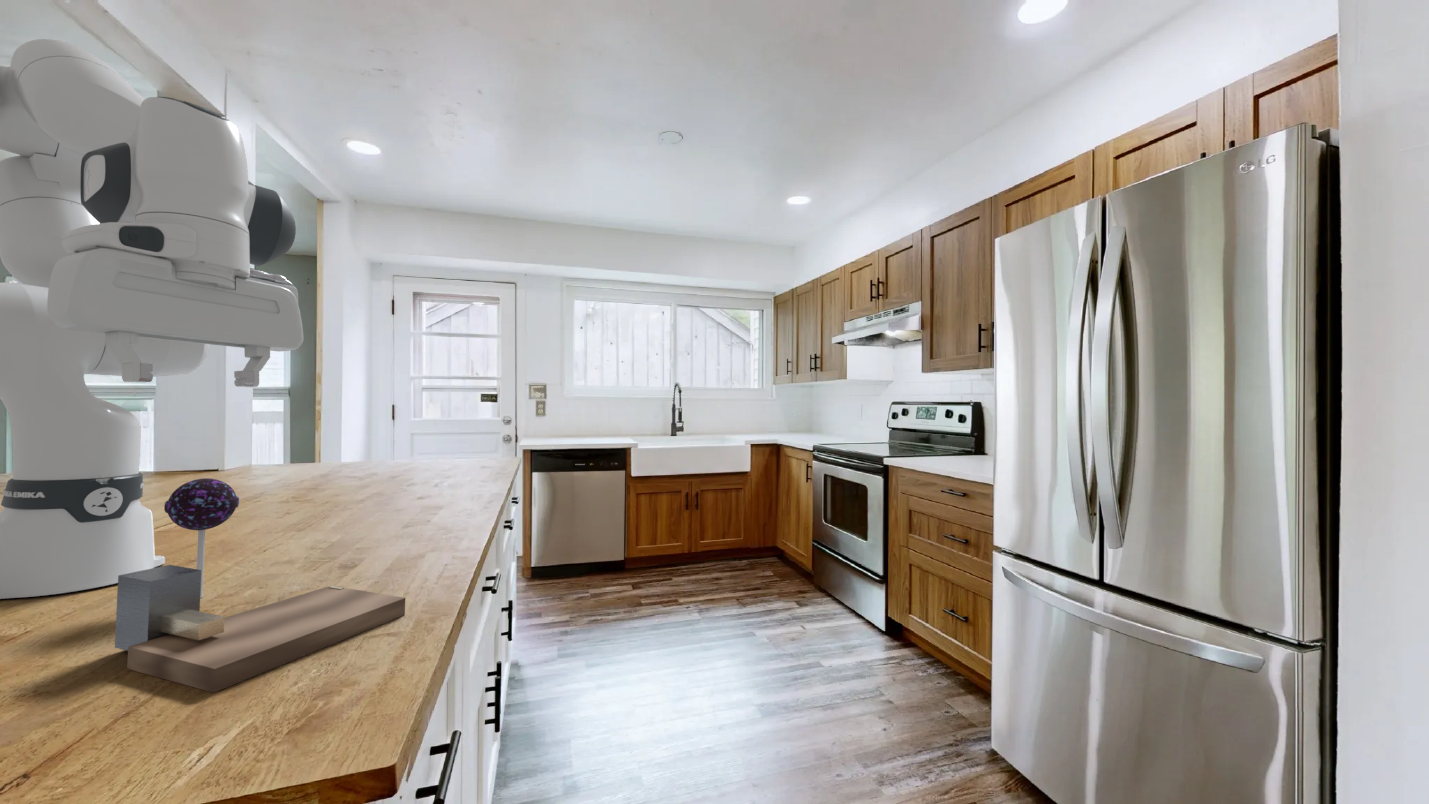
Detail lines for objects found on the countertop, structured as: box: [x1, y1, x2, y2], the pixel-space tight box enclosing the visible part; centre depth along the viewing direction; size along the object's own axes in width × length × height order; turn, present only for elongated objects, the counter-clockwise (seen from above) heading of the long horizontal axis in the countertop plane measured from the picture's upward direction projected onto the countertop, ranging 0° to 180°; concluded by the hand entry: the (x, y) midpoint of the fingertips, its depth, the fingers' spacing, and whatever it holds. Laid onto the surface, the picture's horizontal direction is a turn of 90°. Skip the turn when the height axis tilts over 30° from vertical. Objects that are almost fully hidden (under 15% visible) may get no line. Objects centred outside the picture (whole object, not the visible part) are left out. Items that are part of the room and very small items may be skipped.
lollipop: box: [163, 477, 240, 599], centre depth 68 cm, size 7×7×15 cm
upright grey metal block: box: [114, 564, 225, 652], centre depth 53 cm, size 10×4×7 cm, turn 72°
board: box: [126, 585, 406, 693], centre depth 57 cm, size 12×19×2 cm, turn 162°
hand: (196, 384), depth 57 cm, fingers open, 8 cm apart
